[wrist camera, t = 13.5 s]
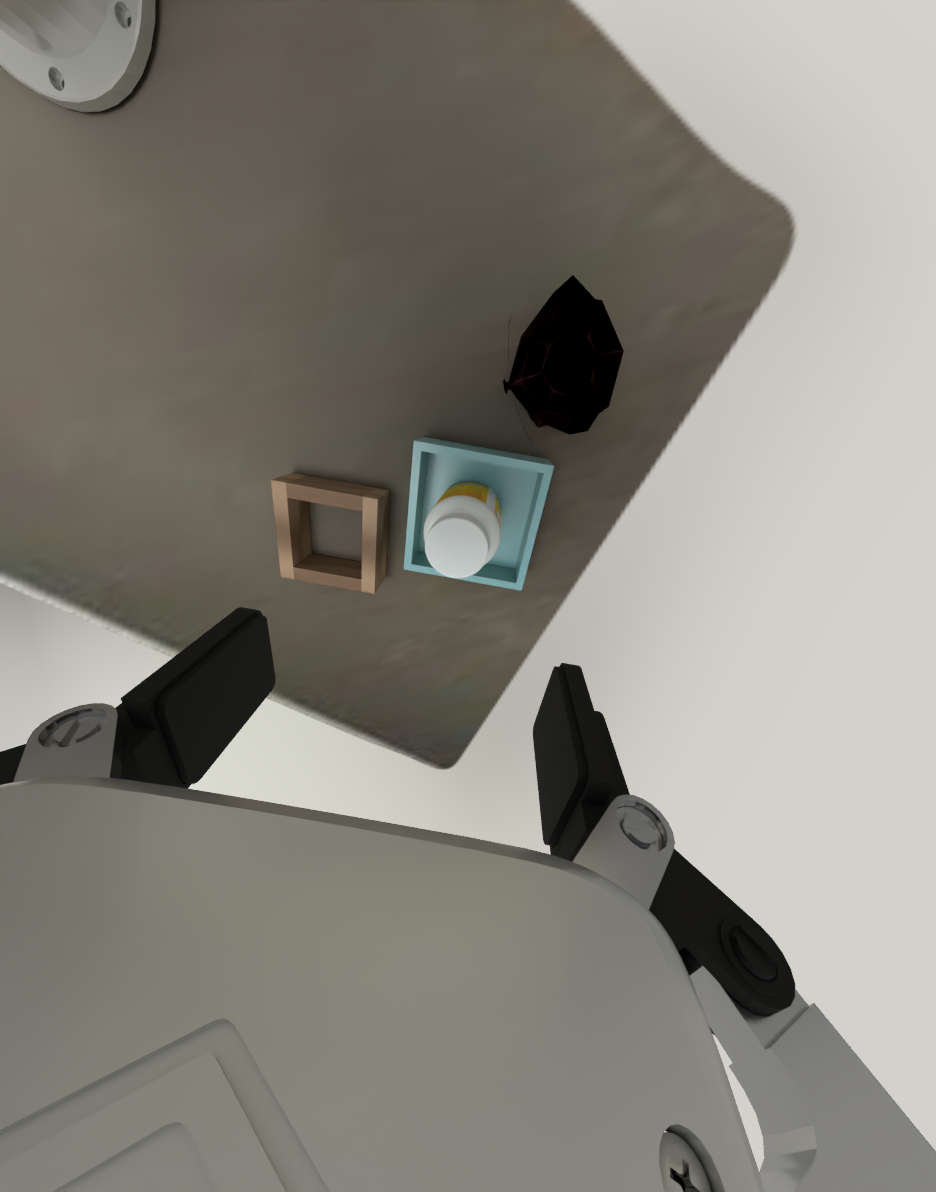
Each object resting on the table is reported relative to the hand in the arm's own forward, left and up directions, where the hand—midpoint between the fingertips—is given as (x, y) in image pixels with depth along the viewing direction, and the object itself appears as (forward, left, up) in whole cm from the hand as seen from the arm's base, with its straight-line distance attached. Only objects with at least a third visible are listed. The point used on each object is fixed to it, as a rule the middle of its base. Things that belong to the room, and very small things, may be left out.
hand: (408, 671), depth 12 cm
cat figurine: (-10, +5, -23) cm, 25 cm away
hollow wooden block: (+4, -11, -22) cm, 25 cm away
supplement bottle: (0, 0, -22) cm, 22 cm away
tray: (0, +1, -22) cm, 22 cm away
